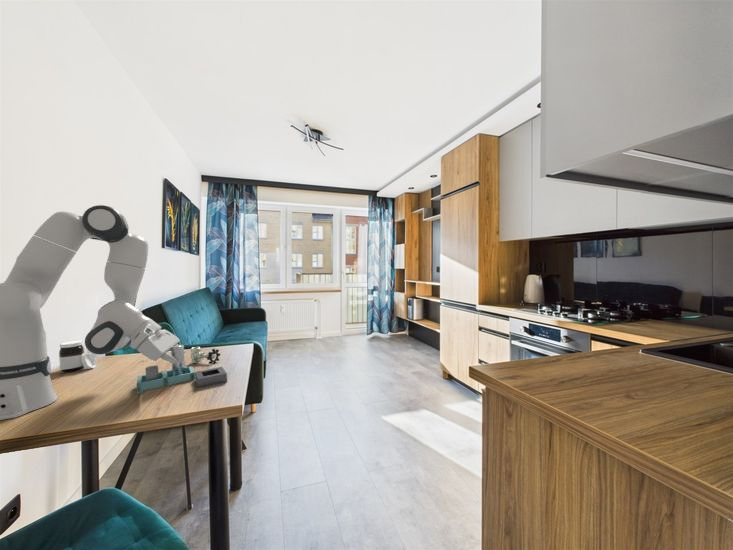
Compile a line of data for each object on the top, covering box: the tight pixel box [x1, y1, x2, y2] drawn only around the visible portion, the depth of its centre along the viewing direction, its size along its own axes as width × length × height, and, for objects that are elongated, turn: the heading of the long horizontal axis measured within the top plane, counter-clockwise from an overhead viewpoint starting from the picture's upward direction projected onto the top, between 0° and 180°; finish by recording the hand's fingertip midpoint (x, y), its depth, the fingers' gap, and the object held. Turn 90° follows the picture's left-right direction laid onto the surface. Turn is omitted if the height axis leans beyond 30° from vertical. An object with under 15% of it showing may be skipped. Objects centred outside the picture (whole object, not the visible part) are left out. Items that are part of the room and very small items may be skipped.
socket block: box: [194, 366, 228, 389], centre depth 111 cm, size 9×9×4 cm
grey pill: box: [170, 344, 186, 376], centre depth 114 cm, size 4×4×12 cm
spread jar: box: [58, 340, 97, 374], centre depth 131 cm, size 12×11×12 cm
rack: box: [136, 365, 196, 395], centre depth 112 cm, size 17×9×7 cm, turn 124°
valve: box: [190, 346, 221, 365], centre depth 135 cm, size 7×7×12 cm
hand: (179, 357), depth 114 cm, fingers open, 8 cm apart
